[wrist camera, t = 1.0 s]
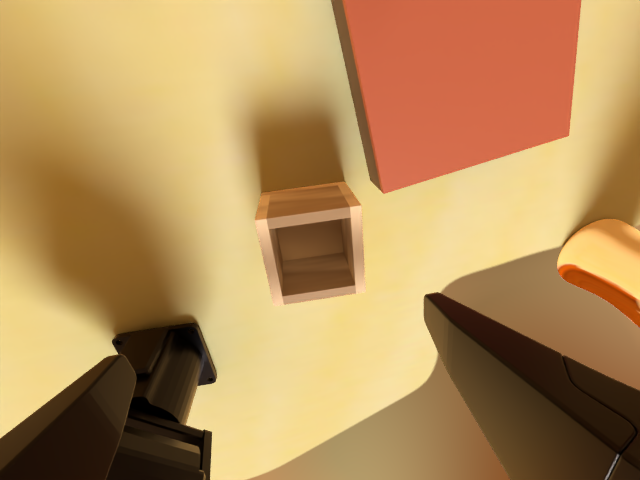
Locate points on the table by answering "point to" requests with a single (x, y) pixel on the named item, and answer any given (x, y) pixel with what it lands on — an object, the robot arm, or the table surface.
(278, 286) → the masu
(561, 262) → the beer glass
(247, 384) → the table surface
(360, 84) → the red square block
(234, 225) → the table surface
